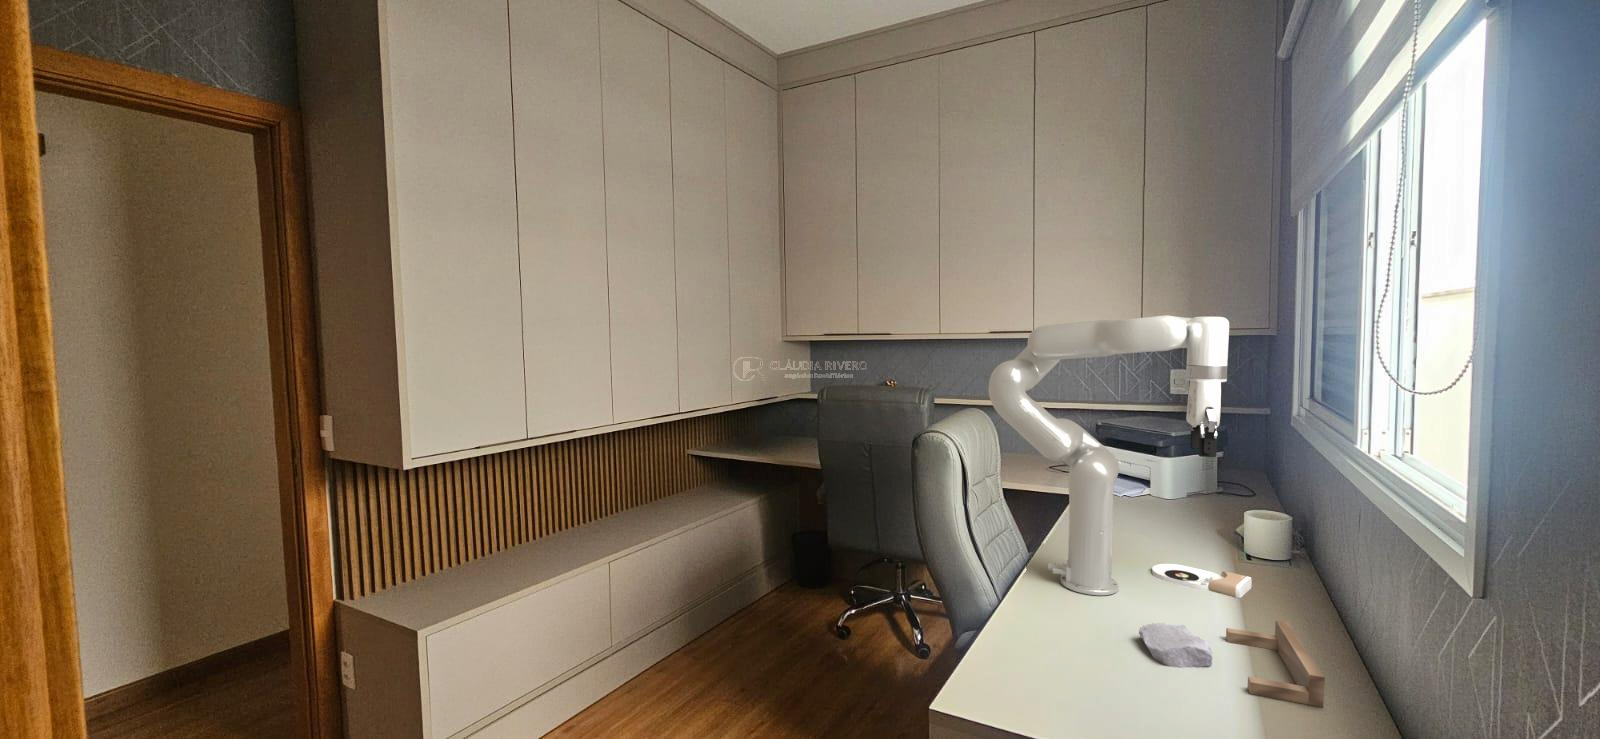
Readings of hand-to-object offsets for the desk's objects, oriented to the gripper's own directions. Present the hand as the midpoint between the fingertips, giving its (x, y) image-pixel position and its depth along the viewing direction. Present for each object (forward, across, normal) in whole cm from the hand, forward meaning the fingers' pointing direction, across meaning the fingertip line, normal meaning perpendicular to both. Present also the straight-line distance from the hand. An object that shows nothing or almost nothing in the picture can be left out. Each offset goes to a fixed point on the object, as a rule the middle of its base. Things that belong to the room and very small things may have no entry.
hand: (1202, 452), depth 145 cm
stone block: (+35, +25, -8) cm, 44 cm away
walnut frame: (+34, +26, +7) cm, 44 cm away
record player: (+35, -17, +3) cm, 39 cm away
